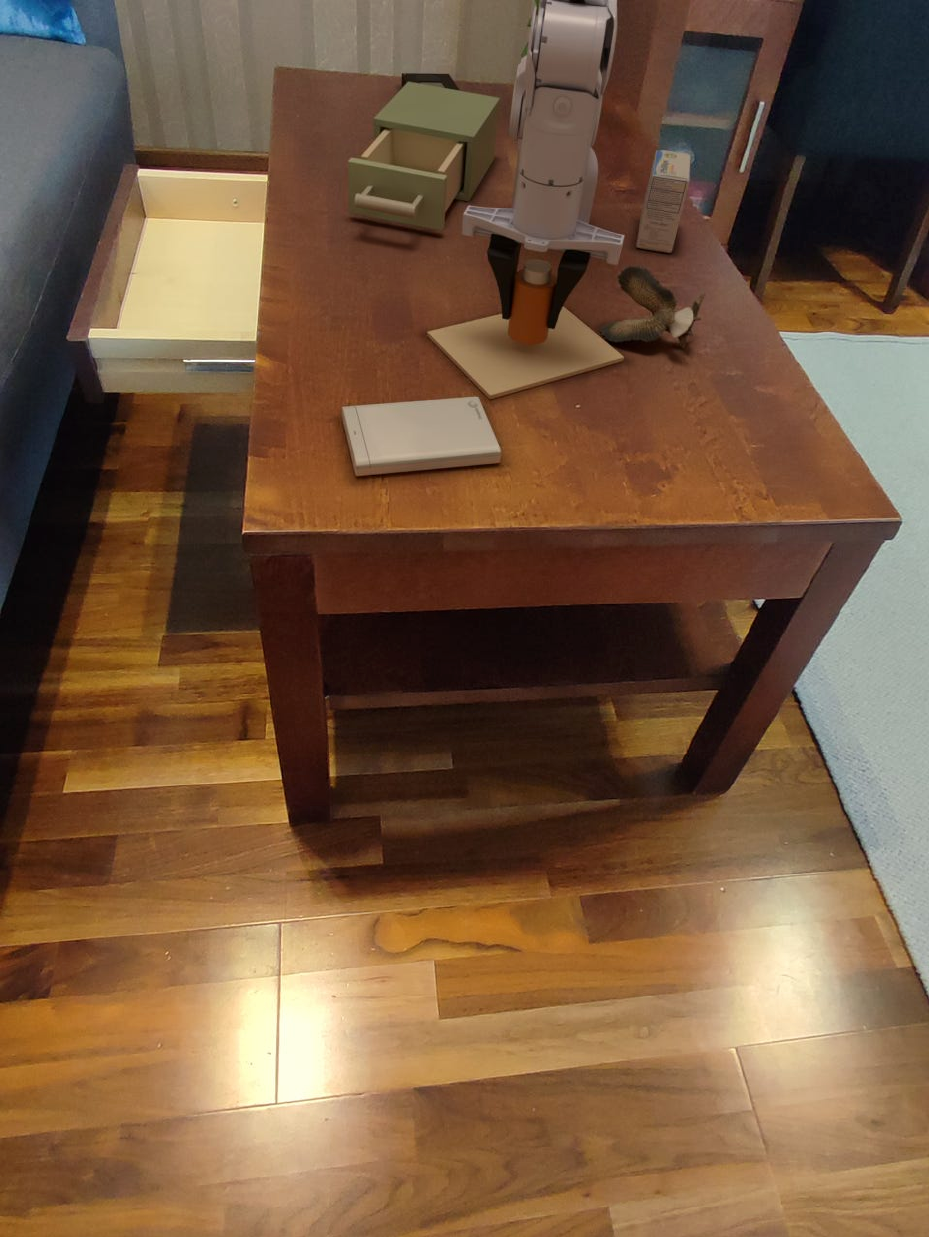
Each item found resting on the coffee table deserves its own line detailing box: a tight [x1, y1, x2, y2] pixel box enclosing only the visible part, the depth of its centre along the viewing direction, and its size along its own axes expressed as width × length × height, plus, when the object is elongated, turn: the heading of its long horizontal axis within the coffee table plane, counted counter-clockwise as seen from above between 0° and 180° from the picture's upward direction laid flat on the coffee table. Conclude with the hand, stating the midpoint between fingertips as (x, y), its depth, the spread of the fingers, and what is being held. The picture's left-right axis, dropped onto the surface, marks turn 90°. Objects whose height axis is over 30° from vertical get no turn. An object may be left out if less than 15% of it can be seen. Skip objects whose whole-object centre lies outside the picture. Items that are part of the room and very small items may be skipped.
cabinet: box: [373, 82, 501, 202], centre depth 108 cm, size 15×13×8 cm
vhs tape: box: [400, 72, 461, 91], centre depth 126 cm, size 8×14×2 cm, turn 14°
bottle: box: [508, 258, 557, 345], centre depth 80 cm, size 4×4×7 cm
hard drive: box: [341, 396, 502, 477], centre depth 72 cm, size 2×8×12 cm
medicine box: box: [635, 149, 692, 254], centre depth 100 cm, size 8×4×9 cm, turn 168°
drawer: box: [347, 127, 467, 231], centre depth 99 cm, size 18×11×6 cm, turn 166°
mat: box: [426, 305, 625, 400], centre depth 84 cm, size 16×12×1 cm
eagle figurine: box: [599, 265, 706, 350], centre depth 85 cm, size 8×7×9 cm
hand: (529, 318), depth 82 cm, fingers closed on bottle, 4 cm apart
